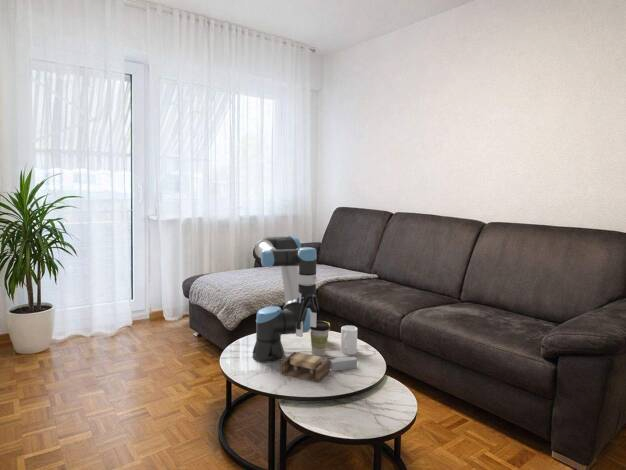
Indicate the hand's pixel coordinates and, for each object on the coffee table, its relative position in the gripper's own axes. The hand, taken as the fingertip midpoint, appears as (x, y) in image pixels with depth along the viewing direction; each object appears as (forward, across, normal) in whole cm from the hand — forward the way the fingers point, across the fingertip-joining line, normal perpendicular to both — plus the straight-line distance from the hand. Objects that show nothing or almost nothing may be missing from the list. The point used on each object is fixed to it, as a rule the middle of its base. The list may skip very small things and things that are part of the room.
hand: (306, 331), depth 184 cm
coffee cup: (+19, +22, +4) cm, 29 cm away
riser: (+19, +12, -13) cm, 26 cm away
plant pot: (+19, +37, +10) cm, 43 cm away
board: (+15, 0, 0) cm, 15 cm away
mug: (+19, +30, -8) cm, 36 cm away
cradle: (+19, 0, 0) cm, 19 cm away
